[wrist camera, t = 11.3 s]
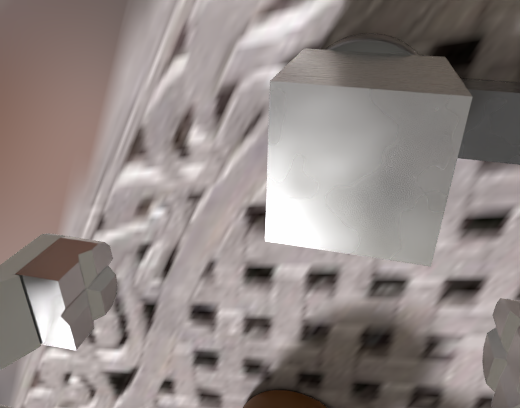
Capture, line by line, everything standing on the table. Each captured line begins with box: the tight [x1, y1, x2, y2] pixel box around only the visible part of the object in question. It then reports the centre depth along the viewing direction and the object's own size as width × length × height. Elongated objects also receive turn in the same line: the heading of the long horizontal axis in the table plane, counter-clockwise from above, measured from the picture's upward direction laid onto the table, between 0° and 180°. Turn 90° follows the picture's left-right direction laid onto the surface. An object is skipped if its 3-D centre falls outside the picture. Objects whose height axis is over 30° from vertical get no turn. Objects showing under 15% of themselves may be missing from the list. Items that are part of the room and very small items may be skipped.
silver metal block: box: [265, 49, 473, 266], centre depth 15 cm, size 5×5×6 cm
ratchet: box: [325, 33, 520, 165], centre depth 17 cm, size 17×6×6 cm, turn 89°
